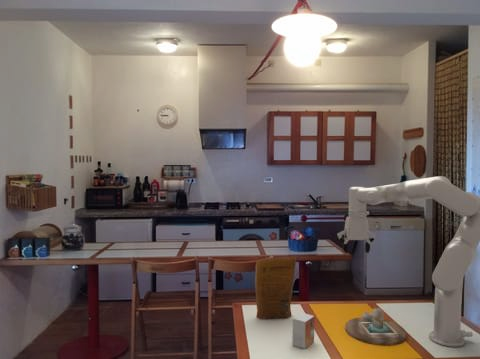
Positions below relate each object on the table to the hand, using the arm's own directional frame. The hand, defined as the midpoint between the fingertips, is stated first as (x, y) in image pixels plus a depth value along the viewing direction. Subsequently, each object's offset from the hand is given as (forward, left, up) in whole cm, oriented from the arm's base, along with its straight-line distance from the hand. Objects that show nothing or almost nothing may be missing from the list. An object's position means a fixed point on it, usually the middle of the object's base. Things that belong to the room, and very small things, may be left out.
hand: (356, 252), depth 181 cm
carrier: (-4, +14, -30) cm, 34 cm away
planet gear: (-4, +17, -29) cm, 34 cm away
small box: (+28, +24, -31) cm, 48 cm away
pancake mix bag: (+36, -2, -31) cm, 47 cm away
